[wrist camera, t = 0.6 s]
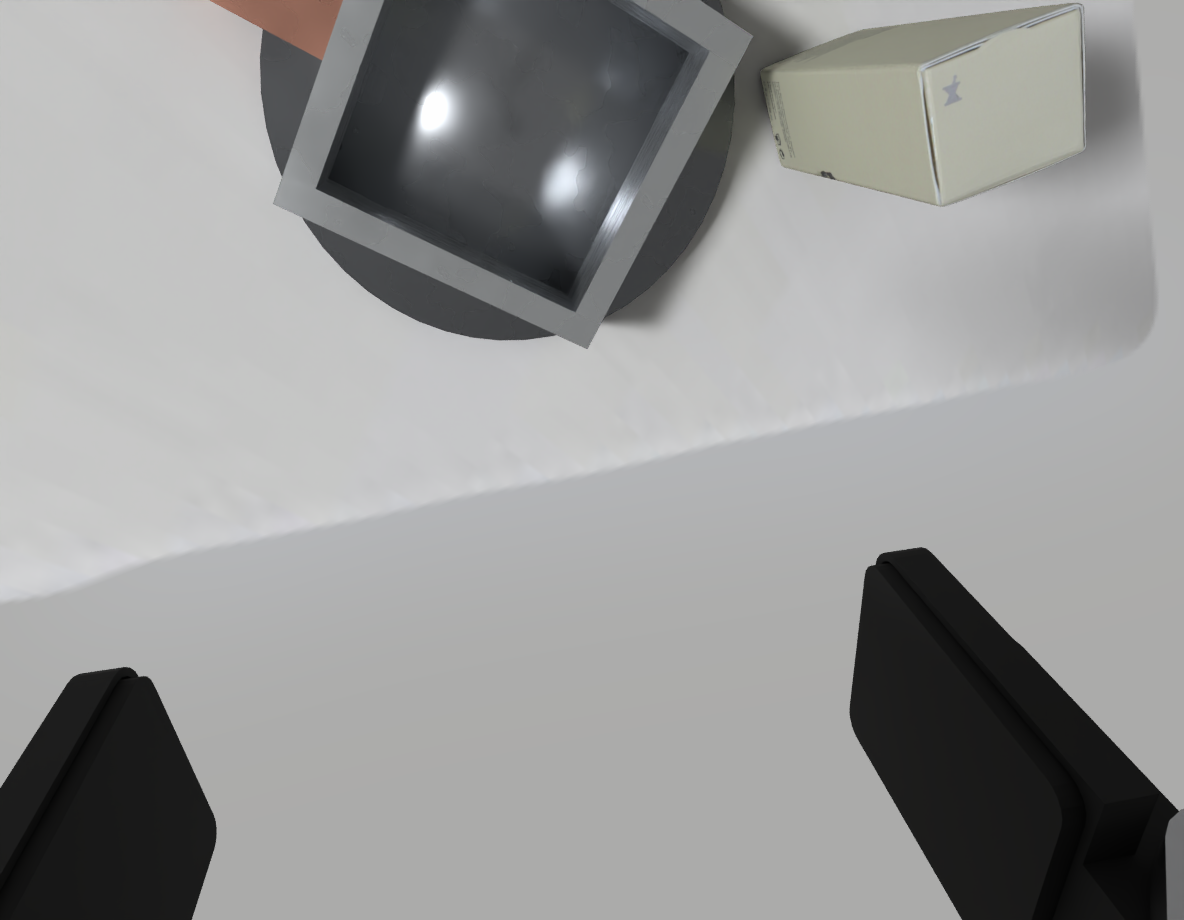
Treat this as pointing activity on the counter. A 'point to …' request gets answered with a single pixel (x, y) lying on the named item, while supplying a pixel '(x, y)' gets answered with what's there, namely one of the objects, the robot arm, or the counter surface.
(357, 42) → the disc with square frame
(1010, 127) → the box
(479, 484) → the counter surface
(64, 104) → the counter surface
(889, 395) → the counter surface
